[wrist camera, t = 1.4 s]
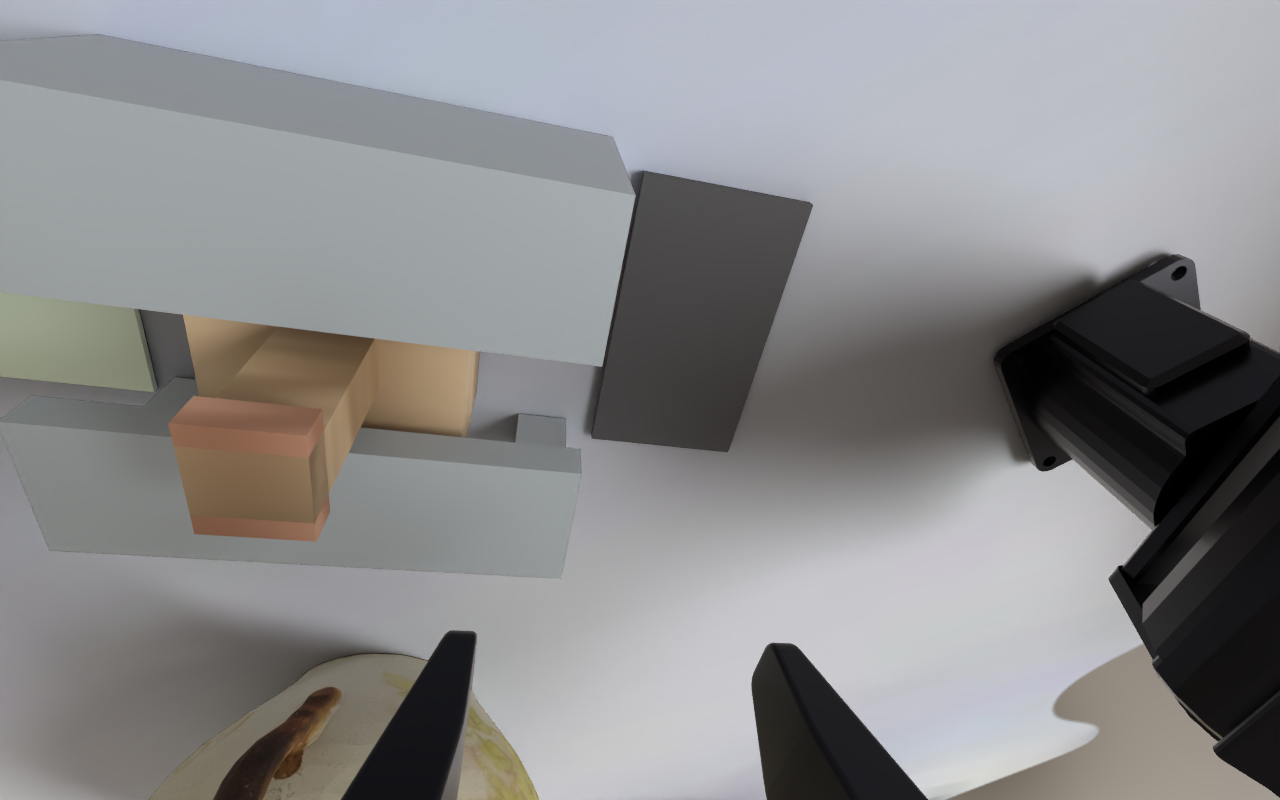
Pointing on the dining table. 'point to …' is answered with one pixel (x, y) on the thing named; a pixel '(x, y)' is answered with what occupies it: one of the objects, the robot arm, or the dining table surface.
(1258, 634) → the robot arm
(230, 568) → the dining table surface
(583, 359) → the tunnel
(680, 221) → the mat
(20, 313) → the pad
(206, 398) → the tan t-shaped block
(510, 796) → the sugar bowl
